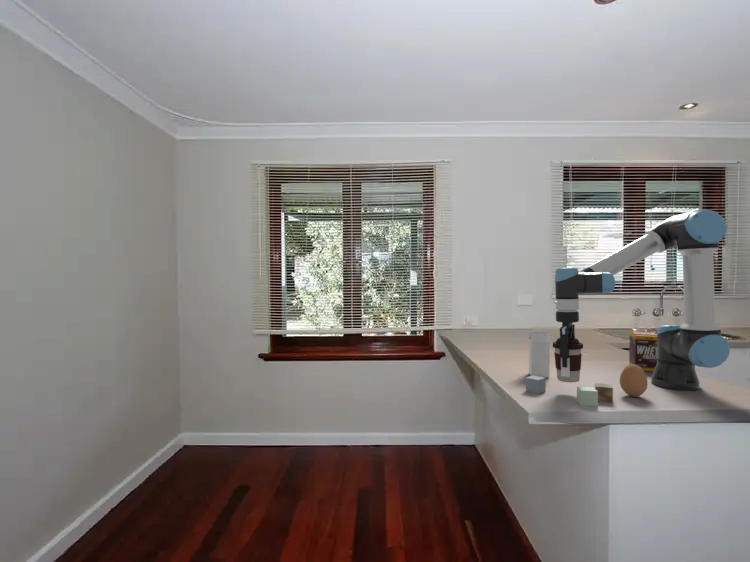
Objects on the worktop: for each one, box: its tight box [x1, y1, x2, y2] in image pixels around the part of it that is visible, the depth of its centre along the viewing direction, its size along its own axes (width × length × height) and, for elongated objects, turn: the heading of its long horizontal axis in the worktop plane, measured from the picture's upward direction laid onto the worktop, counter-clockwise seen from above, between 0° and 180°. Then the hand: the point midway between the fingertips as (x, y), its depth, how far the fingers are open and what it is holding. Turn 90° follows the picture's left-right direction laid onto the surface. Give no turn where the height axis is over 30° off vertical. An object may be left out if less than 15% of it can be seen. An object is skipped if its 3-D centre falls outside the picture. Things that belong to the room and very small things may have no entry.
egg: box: [619, 364, 648, 398], centre depth 150 cm, size 8×8×11 cm
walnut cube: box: [594, 382, 614, 404], centre depth 146 cm, size 5×5×5 cm
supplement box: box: [628, 330, 657, 373], centre depth 194 cm, size 10×15×16 cm
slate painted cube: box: [525, 375, 547, 394], centre depth 157 cm, size 5×5×5 cm
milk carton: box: [528, 329, 551, 378], centre depth 180 cm, size 7×7×19 cm
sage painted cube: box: [576, 386, 599, 407], centre depth 142 cm, size 5×5×5 cm
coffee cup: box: [552, 337, 584, 384], centre depth 154 cm, size 10×10×15 cm
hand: (568, 373), depth 154 cm, fingers closed on coffee cup, 9 cm apart
